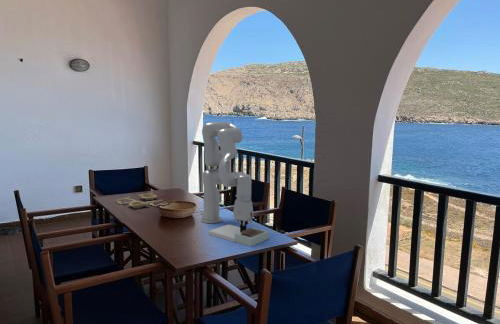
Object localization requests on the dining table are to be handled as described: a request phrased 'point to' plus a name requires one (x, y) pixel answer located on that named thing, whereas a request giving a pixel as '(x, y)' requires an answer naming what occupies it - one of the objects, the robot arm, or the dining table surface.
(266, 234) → the box
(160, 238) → the dining table surface
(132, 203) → the tableware set
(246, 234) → the brown round disc
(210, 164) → the robot arm
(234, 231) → the board
